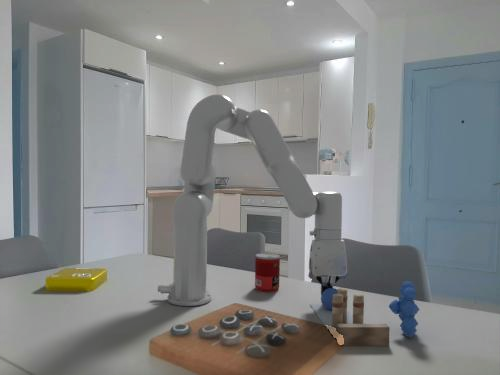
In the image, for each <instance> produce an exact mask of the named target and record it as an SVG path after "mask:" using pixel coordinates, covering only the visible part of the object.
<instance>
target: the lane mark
mask: <svg viewBox="0 0 500 375" xmlns="http://www.w3.org/2000/svg"><path fill="white" fill-rule="evenodd" d="M309 305H310V307H311V309H312V310H313V312H314V313H315V314H316V315H317V317H318V318H319V320H320V321H321V323H322V324H323V325H324V326H325V325H328V326H331V327H332V311H330V310H328V309H326V308H325V307H324V306H323V305H322V303H317V304H316V303H315V304H314V303H310V304H309ZM347 324H353V314H351V313H350V312H349V311H348V310H347Z"/></svg>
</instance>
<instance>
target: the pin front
mask: <svg viewBox="0 0 500 375" xmlns="http://www.w3.org/2000/svg"><path fill="white" fill-rule="evenodd" d="M336 289H337V288H336ZM337 294H341V295H343V324H347V311H348V289H346V288H338V289H337Z"/></svg>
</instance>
